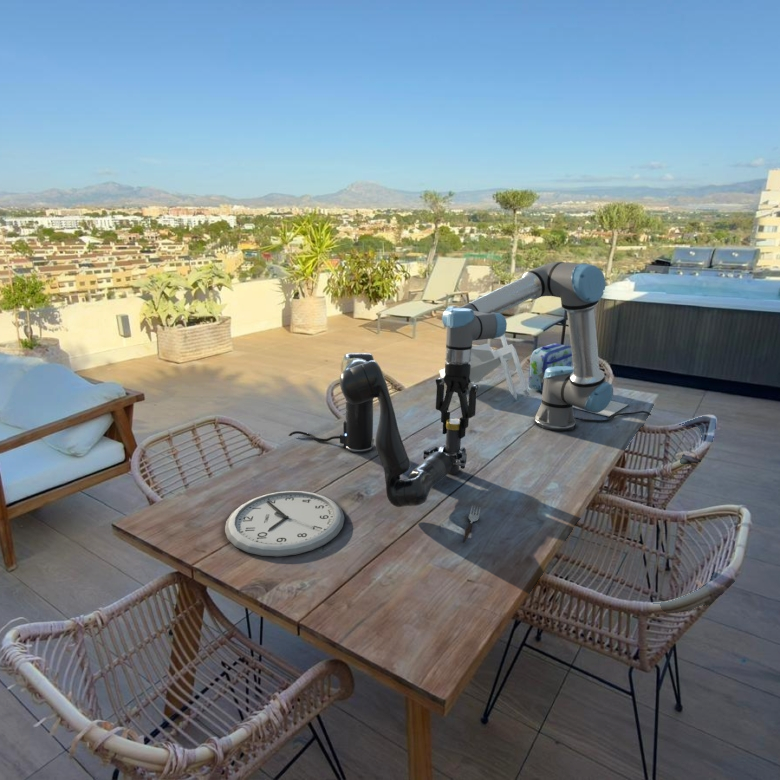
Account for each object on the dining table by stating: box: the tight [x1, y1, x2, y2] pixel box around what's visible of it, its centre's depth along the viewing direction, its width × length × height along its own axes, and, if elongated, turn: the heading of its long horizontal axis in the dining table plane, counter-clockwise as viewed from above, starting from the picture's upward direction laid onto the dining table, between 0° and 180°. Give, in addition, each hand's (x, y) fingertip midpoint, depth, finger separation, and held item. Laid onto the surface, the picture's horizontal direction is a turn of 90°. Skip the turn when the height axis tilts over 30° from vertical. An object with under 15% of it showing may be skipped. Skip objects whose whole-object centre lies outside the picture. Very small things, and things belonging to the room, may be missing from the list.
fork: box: [462, 505, 481, 543], centre depth 133 cm, size 3×16×2 cm, turn 160°
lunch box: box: [528, 343, 573, 392], centre depth 249 cm, size 26×11×21 cm, turn 134°
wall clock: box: [224, 490, 345, 557], centre depth 134 cm, size 30×2×30 cm
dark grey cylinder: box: [445, 429, 462, 475], centre depth 162 cm, size 4×4×16 cm
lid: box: [446, 418, 460, 430], centre depth 160 cm, size 5×5×2 cm
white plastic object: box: [438, 333, 531, 400], centre depth 245 cm, size 37×45×31 cm
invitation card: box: [573, 400, 629, 418], centre depth 226 cm, size 21×1×15 cm
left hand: (456, 448), depth 165 cm, fingers closed on dark grey cylinder, 4 cm apart
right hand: (453, 434), depth 161 cm, fingers closed on lid, 5 cm apart
